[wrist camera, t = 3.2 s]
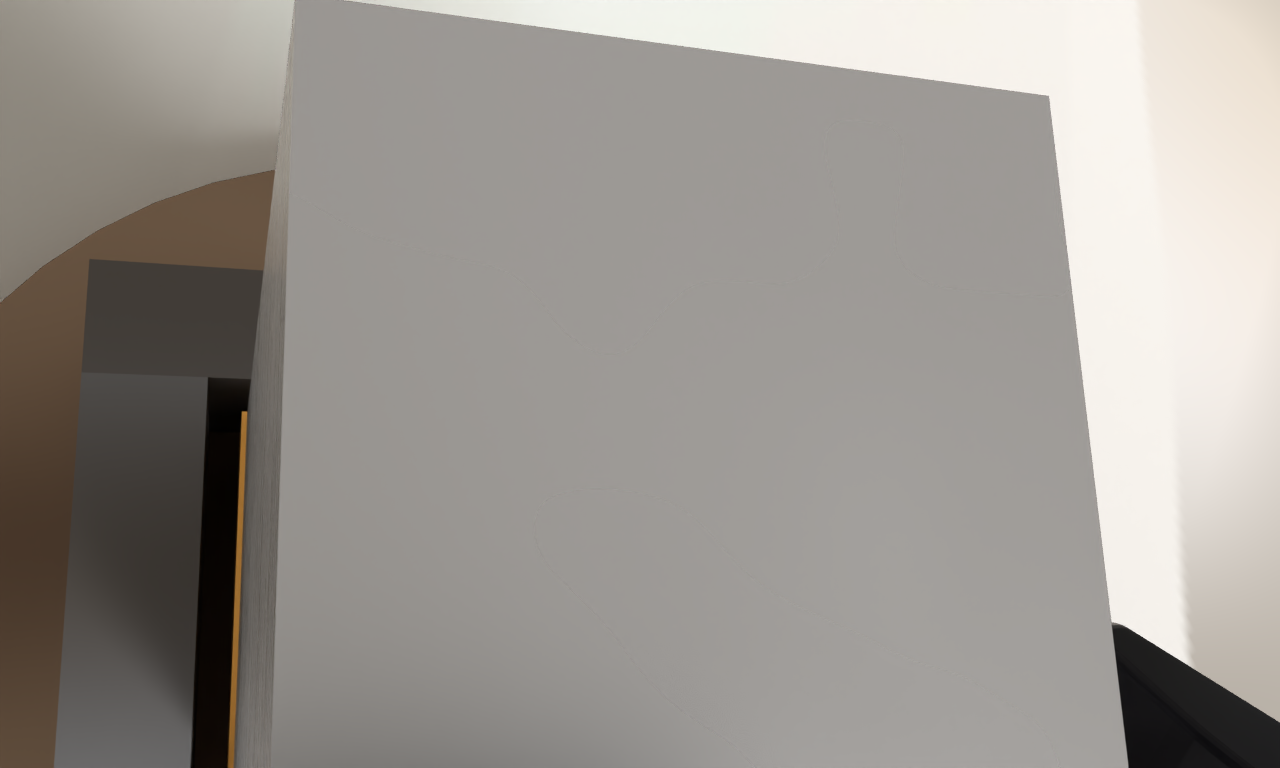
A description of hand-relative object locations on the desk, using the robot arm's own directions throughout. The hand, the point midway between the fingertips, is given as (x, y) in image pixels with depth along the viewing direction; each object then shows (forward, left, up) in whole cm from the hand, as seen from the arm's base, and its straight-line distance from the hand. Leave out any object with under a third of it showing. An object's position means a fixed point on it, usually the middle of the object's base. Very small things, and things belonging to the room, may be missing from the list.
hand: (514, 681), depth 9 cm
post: (+1, 0, -7) cm, 7 cm away
